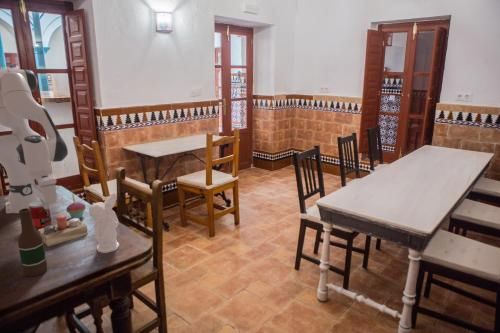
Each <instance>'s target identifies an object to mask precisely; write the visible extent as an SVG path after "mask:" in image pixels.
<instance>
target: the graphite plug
mask: <svg viewBox="0 0 500 333" xmlns="http://www.w3.org/2000/svg"><path fill="white" fill-rule="evenodd" d="M54 225H55V224H53V225H52V224H51V225H49V226H46V227H44V230H45V233H46V235H47V234H51V233H54V232H55V226H54Z"/></svg>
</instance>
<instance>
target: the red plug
mask: <svg viewBox="0 0 500 333" xmlns="http://www.w3.org/2000/svg"><path fill="white" fill-rule="evenodd" d="M55 220H56V224H57V226H58V230H59V231H61V230H64V229H67V215H66V214H59V215H56V216H55Z"/></svg>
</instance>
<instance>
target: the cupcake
mask: <svg viewBox="0 0 500 333" xmlns="http://www.w3.org/2000/svg"><path fill="white" fill-rule="evenodd" d="M71 194H72V195H71V196H72V201H73V202H72V203H70V204H68V205H67V207H66V213H68V214H69V215H70V218H71V219H74V218H79V219H81V218H82V217H83V215H84V211H85V210H86V209H87V208H86V204H85V203H83V202H76V201H75V196H74V193H73V192H71Z"/></svg>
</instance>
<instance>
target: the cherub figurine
mask: <svg viewBox="0 0 500 333" xmlns="http://www.w3.org/2000/svg"><path fill="white" fill-rule="evenodd" d="M117 198H118V197H117V195H116V193H113V194H112V196H111V197H108V198H107V199H105V201H104V202H101V201H100V202H92V204H91V205H90V206H89V208H88V214H89V216H90V217H91V218H92V219H93V221H94V228H93V230H94V239H96V240H97V242H98V243H97V246H96V251H97V252H98V253H101V254H108V253H112V252H115V251H116V250H118V249H119V247H120V243H119V242H118V240H117V238H118V232H117V230H116V229H117V228H118V227H119V224H120V221H119V219H118V217H117V213H116V212H115V211H114V210H113V208H114V207H115V205H116V202H117V200H118V199H117Z"/></svg>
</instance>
